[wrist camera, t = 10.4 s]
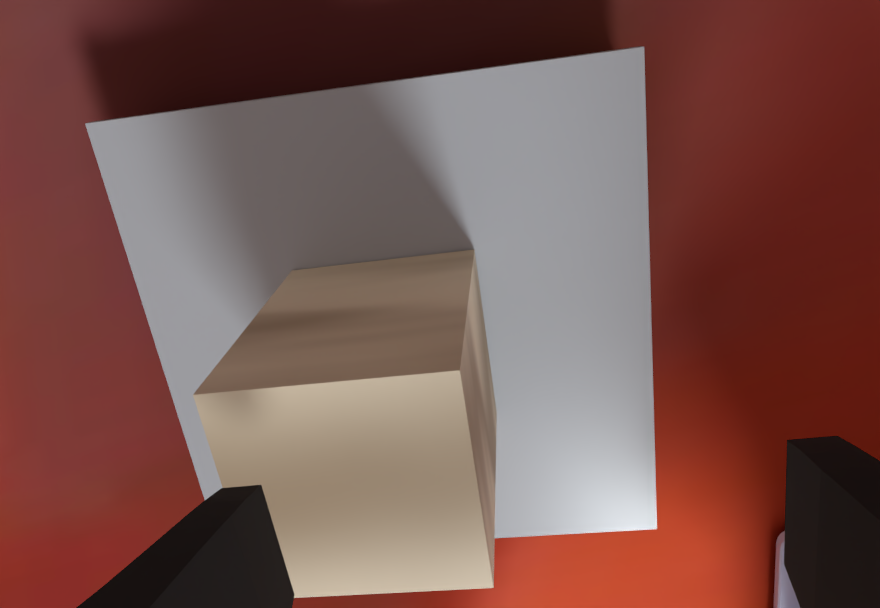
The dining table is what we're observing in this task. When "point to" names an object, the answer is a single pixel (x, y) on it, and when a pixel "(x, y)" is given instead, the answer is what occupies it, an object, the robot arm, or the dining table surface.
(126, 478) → the dining table surface
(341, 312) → the birch block
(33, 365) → the dining table surface
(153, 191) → the thin white square tile
